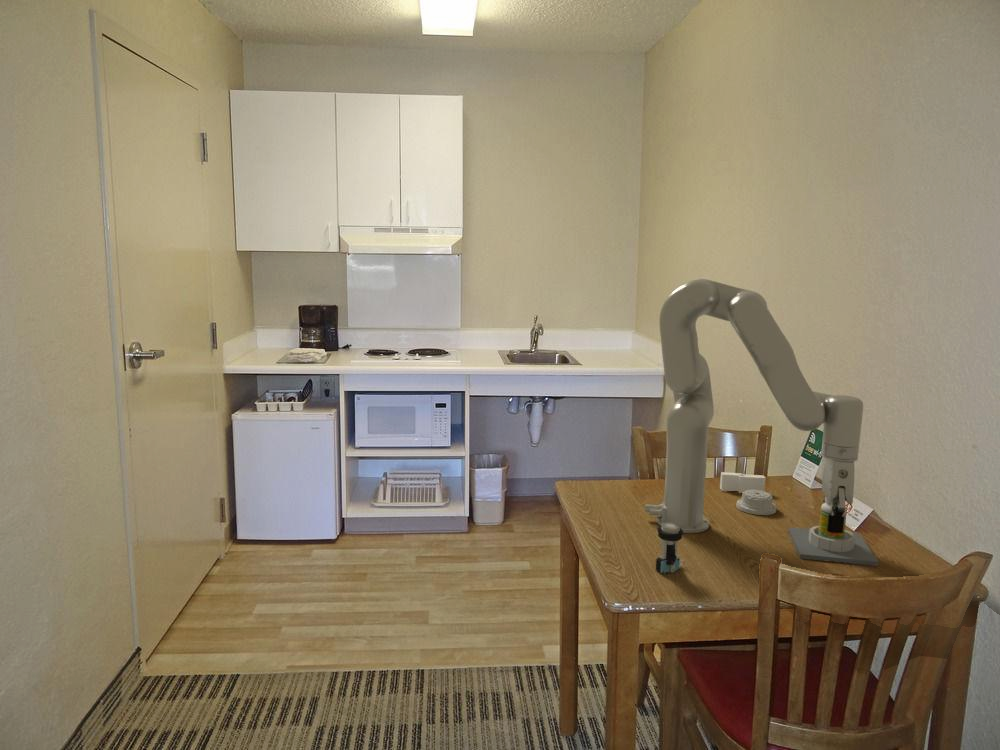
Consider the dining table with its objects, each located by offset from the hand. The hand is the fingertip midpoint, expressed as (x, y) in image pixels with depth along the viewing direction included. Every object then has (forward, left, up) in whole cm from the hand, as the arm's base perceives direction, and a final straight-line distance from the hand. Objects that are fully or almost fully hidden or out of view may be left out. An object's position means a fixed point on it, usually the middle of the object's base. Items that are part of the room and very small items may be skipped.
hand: (831, 526), depth 165 cm
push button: (-36, -21, -5) cm, 42 cm away
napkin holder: (-16, +36, -6) cm, 40 cm away
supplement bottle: (0, 0, -3) cm, 3 cm away
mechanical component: (-14, +22, -6) cm, 27 cm away
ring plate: (0, 0, -5) cm, 5 cm away
